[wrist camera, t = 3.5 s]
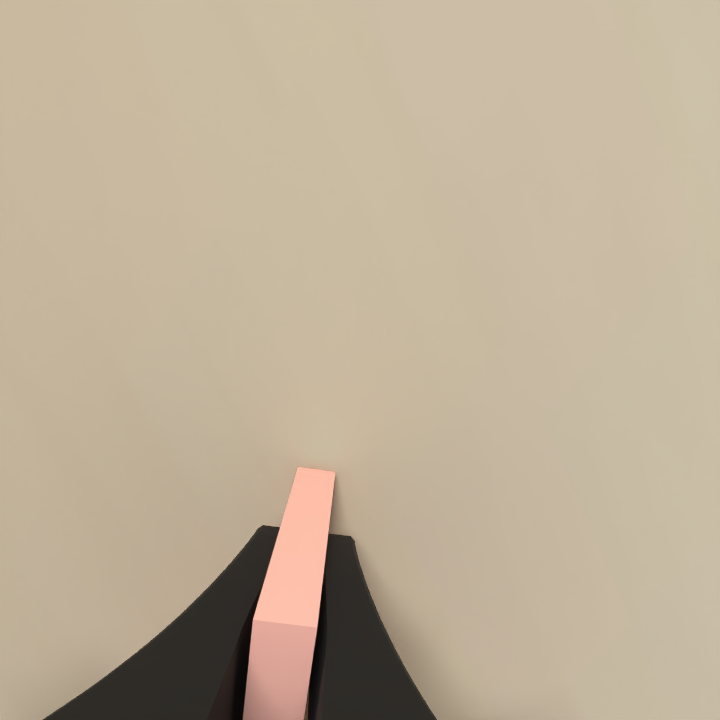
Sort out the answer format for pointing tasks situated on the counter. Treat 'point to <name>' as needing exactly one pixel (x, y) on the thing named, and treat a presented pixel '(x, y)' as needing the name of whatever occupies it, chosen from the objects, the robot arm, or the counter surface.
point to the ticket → (290, 604)
